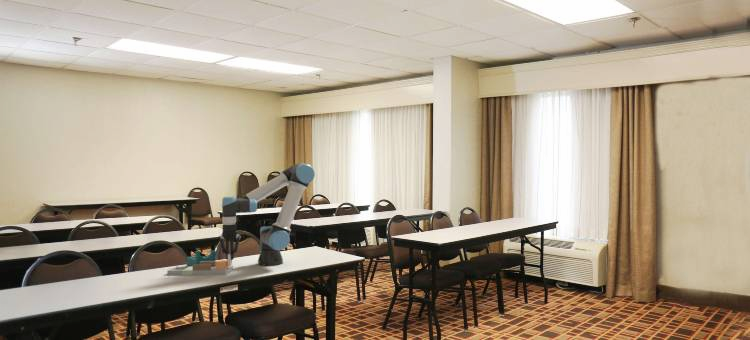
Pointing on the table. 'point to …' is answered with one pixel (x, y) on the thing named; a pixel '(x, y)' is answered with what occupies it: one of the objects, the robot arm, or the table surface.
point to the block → (221, 264)
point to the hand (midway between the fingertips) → (230, 265)
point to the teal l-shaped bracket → (200, 258)
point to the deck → (199, 269)
